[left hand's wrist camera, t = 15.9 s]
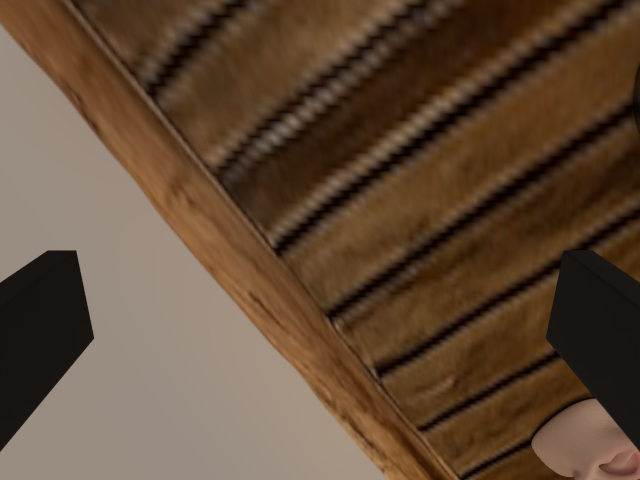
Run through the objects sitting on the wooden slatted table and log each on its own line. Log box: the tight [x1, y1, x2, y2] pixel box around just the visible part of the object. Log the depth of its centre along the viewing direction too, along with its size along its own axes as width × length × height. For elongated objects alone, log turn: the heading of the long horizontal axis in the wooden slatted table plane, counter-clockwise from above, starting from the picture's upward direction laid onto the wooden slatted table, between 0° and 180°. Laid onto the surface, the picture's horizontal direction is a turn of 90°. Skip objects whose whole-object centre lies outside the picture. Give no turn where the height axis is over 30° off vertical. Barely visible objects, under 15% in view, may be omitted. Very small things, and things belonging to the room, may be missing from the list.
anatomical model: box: [532, 399, 640, 480], centre depth 47 cm, size 13×4×12 cm
